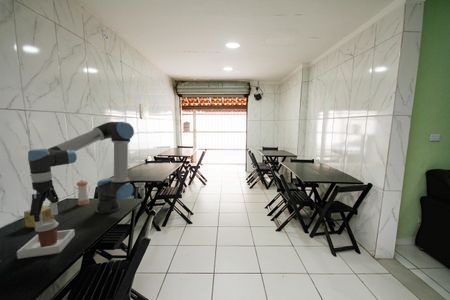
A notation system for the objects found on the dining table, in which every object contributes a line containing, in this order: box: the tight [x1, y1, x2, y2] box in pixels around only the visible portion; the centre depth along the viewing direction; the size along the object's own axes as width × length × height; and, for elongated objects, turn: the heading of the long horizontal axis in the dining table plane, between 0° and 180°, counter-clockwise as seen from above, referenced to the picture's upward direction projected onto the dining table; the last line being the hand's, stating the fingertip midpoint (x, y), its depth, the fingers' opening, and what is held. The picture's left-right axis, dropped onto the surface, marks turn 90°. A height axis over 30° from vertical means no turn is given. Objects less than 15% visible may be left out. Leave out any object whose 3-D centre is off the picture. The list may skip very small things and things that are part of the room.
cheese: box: [23, 205, 56, 229], centre depth 126 cm, size 10×11×10 cm
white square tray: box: [16, 228, 76, 260], centre depth 103 cm, size 17×17×4 cm
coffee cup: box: [34, 219, 59, 247], centre depth 103 cm, size 9×9×12 cm
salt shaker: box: [76, 179, 90, 206], centre depth 158 cm, size 7×7×19 cm
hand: (47, 220), depth 102 cm, fingers open, 13 cm apart
